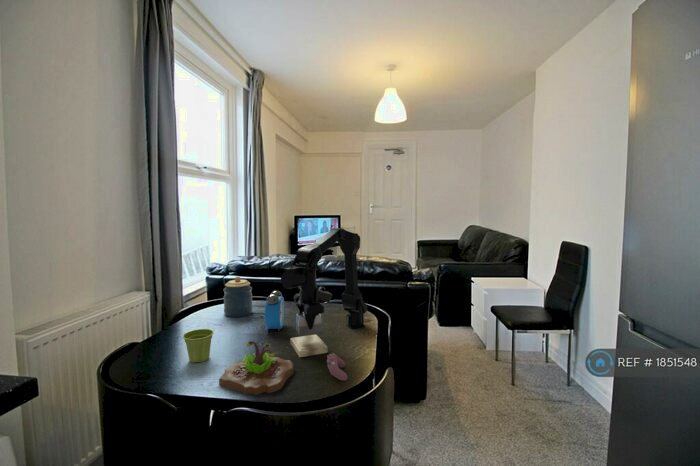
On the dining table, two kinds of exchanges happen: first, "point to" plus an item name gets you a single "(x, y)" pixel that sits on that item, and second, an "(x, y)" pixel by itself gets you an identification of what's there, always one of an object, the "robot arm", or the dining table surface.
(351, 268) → the robot arm
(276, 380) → the plant
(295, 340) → the beige tray
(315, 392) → the dining table surface
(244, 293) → the canister
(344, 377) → the video game controller
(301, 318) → the box
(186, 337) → the plant pot
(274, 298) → the alarm clock
